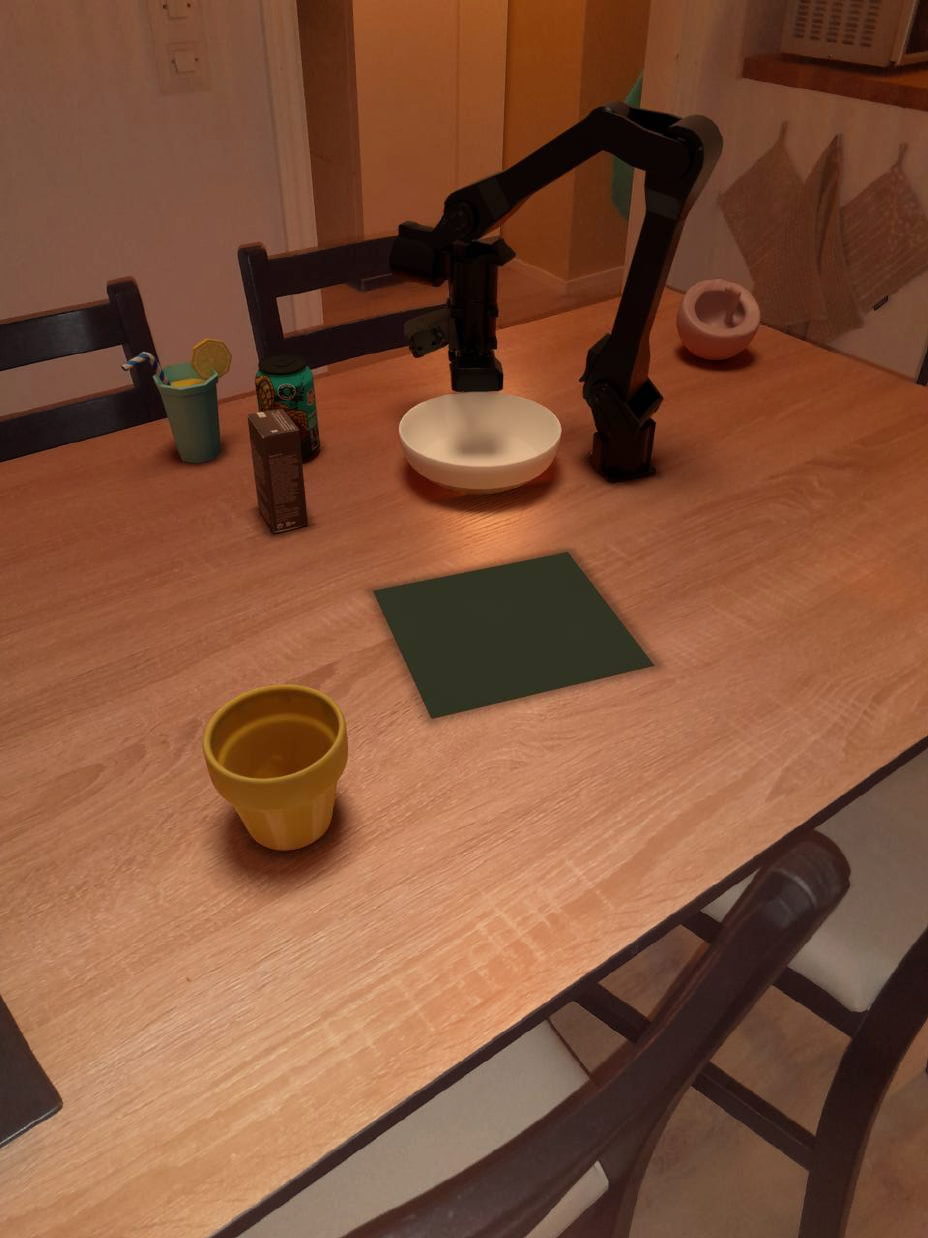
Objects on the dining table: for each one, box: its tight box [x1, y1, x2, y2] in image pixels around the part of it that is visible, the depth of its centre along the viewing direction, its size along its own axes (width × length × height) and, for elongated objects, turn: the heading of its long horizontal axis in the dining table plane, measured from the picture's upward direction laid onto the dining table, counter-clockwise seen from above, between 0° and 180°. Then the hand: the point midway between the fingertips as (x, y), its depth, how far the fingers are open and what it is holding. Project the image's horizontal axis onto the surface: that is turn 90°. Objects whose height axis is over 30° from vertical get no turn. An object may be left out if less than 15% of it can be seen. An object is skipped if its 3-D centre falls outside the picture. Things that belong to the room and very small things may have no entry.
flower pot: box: [202, 683, 349, 852], centre depth 73 cm, size 10×10×10 cm
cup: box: [120, 337, 233, 465], centre depth 118 cm, size 14×8×15 cm, turn 139°
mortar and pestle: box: [675, 278, 762, 361], centre depth 143 cm, size 12×12×11 cm
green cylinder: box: [254, 352, 321, 462], centre depth 119 cm, size 7×7×12 cm
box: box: [247, 409, 309, 534], centre depth 107 cm, size 6×4×12 cm
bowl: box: [398, 391, 563, 496], centre depth 117 cm, size 20×20×6 cm
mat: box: [372, 551, 655, 720], centre depth 95 cm, size 22×20×1 cm
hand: (471, 410), depth 127 cm, fingers closed
